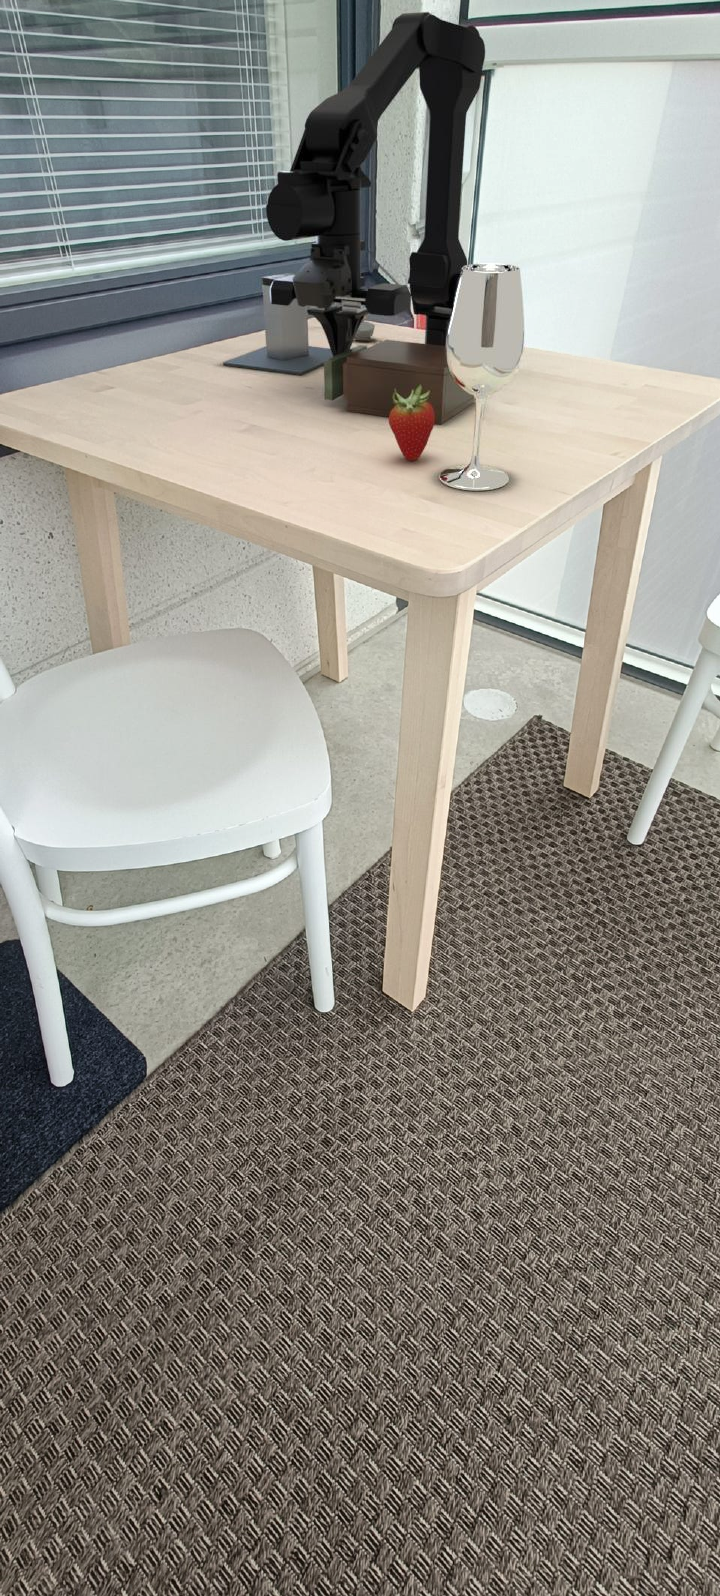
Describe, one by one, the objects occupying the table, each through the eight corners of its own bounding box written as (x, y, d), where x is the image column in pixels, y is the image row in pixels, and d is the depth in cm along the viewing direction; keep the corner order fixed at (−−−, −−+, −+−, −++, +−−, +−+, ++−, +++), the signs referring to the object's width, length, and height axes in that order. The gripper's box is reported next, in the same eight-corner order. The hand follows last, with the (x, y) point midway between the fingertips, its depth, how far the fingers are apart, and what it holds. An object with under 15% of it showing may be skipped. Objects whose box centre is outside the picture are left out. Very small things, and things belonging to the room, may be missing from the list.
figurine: (376, 342, 148) (376, 302, 145) (350, 343, 148) (350, 303, 144) (372, 336, 153) (372, 297, 149) (347, 336, 152) (346, 297, 148)
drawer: (316, 398, 118) (315, 359, 115) (352, 381, 125) (352, 344, 122) (408, 411, 113) (410, 371, 110) (440, 392, 120) (442, 354, 117)
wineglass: (423, 480, 95) (433, 268, 83) (467, 462, 100) (482, 259, 87) (481, 497, 91) (500, 277, 79) (523, 478, 96) (548, 267, 83)
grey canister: (292, 351, 142) (288, 273, 135) (309, 355, 140) (306, 275, 133) (266, 356, 139) (261, 277, 132) (283, 360, 137) (279, 280, 130)
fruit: (378, 461, 100) (379, 386, 95) (405, 449, 104) (407, 376, 99) (415, 470, 98) (418, 394, 93) (441, 457, 101) (445, 383, 96)
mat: (276, 345, 147) (276, 342, 147) (350, 353, 142) (350, 350, 142) (223, 365, 136) (223, 362, 136) (300, 375, 131) (300, 372, 131)
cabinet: (347, 411, 116) (346, 357, 112) (385, 390, 124) (385, 339, 120) (441, 424, 111) (444, 368, 107) (474, 402, 119) (478, 349, 115)
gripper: (242, 236, 109) (252, 371, 119) (375, 245, 103) (374, 387, 112) (288, 226, 117) (294, 354, 127) (414, 234, 110) (410, 368, 120)
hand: (340, 365), depth 121 cm, fingers closed
